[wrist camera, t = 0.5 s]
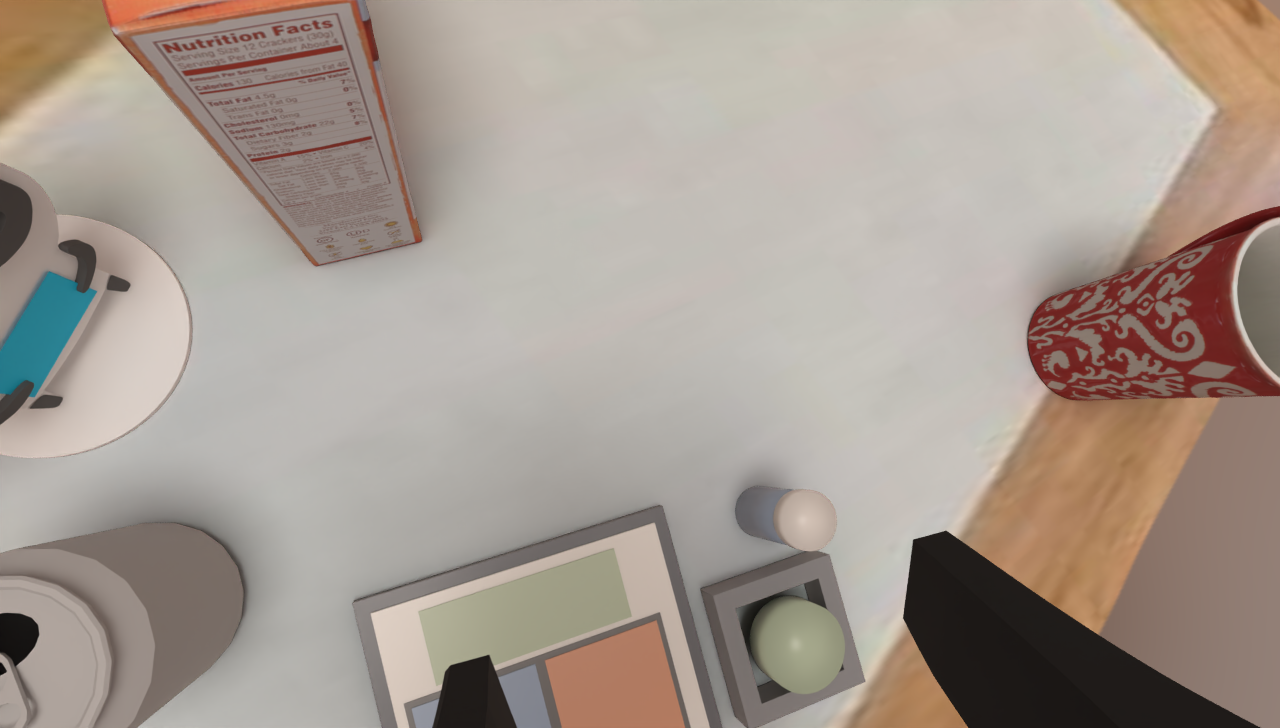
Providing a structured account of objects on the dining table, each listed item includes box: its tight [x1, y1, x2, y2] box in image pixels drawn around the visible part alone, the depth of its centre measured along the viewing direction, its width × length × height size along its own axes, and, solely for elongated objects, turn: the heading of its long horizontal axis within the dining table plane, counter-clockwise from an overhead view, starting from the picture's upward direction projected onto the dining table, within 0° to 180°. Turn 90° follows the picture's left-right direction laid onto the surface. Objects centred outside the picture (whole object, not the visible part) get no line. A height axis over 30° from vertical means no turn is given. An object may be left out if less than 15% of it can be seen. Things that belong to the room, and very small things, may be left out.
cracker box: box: [102, 0, 422, 266], centre depth 26 cm, size 14×6×21 cm, turn 18°
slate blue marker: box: [735, 486, 837, 551], centre depth 36 cm, size 3×3×6 cm
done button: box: [750, 596, 845, 694], centre depth 36 cm, size 4×4×2 cm
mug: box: [1028, 206, 1280, 400], centre depth 40 cm, size 13×9×14 cm
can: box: [0, 523, 244, 728], centre depth 26 cm, size 8×8×12 cm
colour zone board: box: [353, 505, 722, 728], centre depth 35 cm, size 13×16×1 cm
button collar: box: [701, 551, 865, 728], centre depth 38 cm, size 7×7×2 cm
